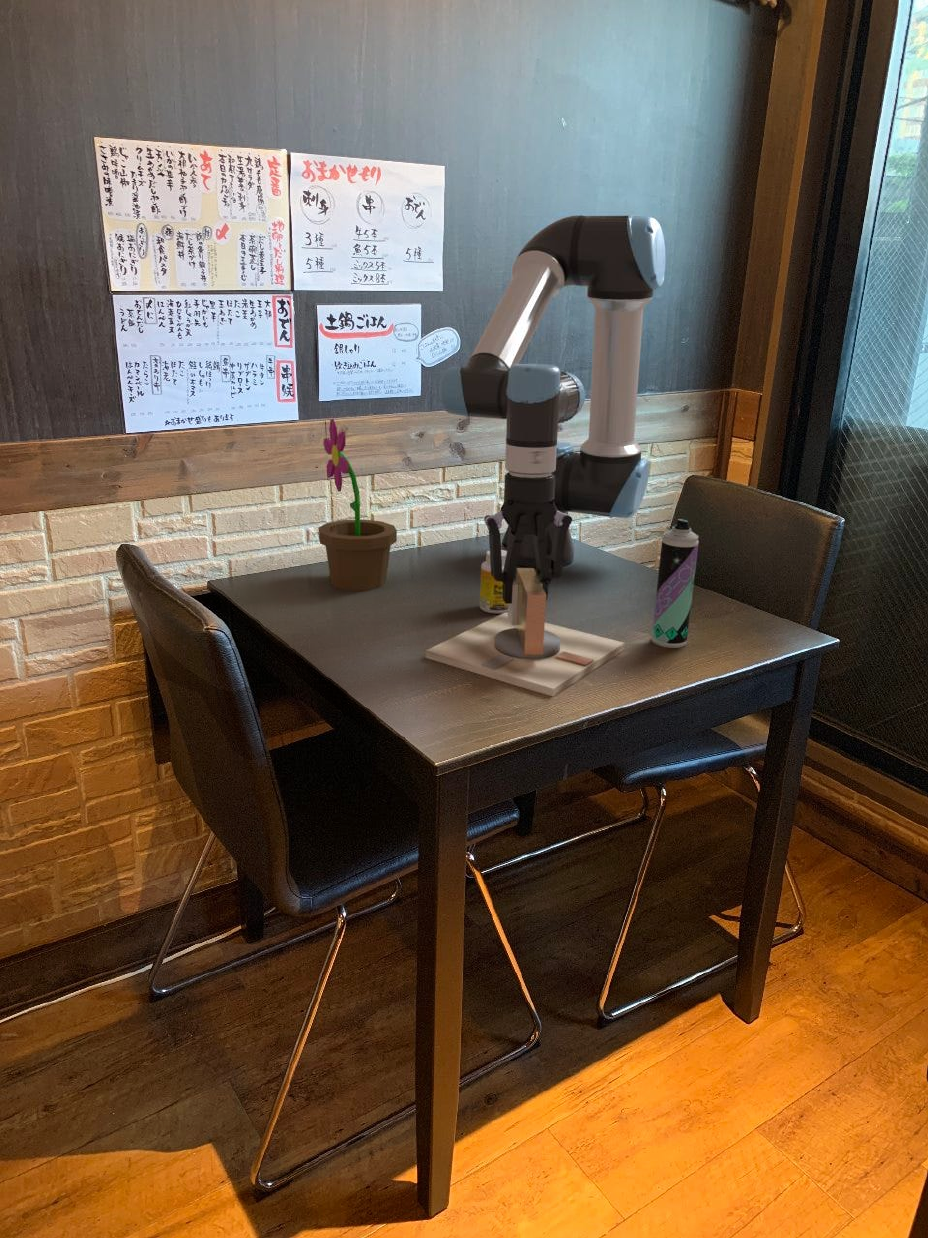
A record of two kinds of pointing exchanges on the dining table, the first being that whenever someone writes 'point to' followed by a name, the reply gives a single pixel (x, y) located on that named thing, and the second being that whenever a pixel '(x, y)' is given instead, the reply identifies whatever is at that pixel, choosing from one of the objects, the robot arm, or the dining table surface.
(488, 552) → the supplement bottle
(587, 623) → the dining table surface
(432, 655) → the board
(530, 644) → the tan rectangular block
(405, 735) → the dining table surface
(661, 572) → the spray can
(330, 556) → the flowerpot
